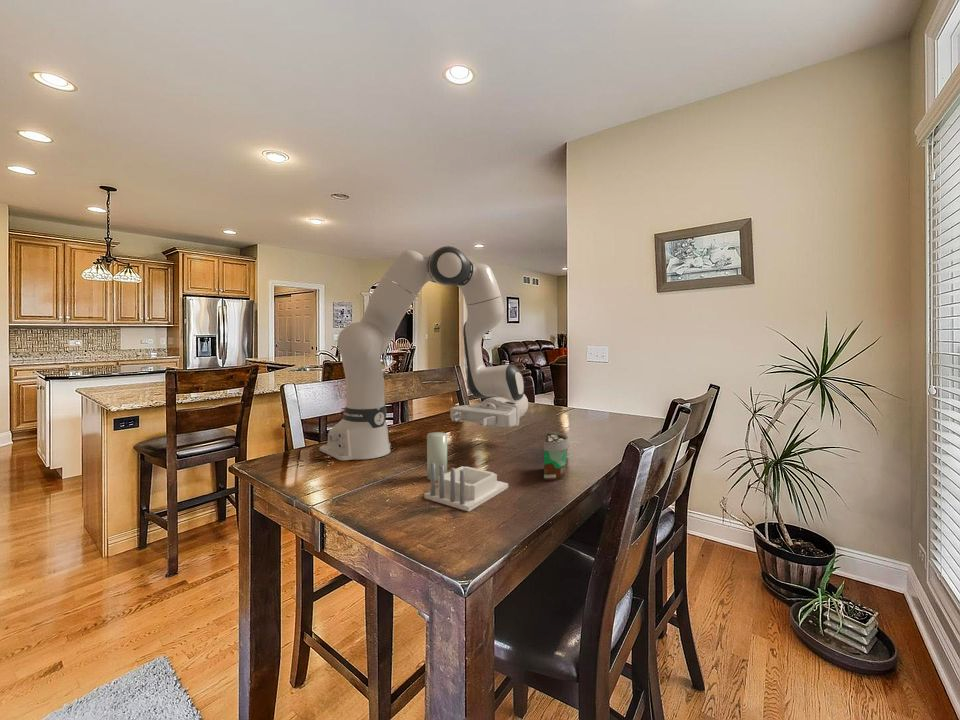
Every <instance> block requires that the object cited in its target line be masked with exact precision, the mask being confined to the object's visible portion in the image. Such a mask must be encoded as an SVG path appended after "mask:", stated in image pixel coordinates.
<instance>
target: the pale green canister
mask: <svg viewBox="0 0 960 720" xmlns="http://www.w3.org/2000/svg"><path fill="white" fill-rule="evenodd" d="M426 460H427V461H426V479H427V480H428V481H430V482H431V463H435V482H438V477H439V466H440V465H444V474H446V473H448V434H447V433H446V432H441V431H435V432H434V431H433V432H428V433H427V434H426Z"/></svg>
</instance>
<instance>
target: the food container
mask: <svg viewBox="0 0 960 720" xmlns="http://www.w3.org/2000/svg"><path fill="white" fill-rule="evenodd" d="M545 434H546V438H545V441H544V443H543V444H544V445H543V446H544V447H543V452H544V453H543V459H544V460H543V461H544V462H543V481H544V482H556V481H560V480H562V478H563V477H564V478H565V473H566V465H567V464H566V462H567V451H568V449H569V448H570V446H571V444H570V440H569V438H568V436H567V435H566V434H563V433H561V432H557V431H548V430H547V431H546V433H545ZM564 478H563V479H564ZM555 480H556V481H555Z"/></svg>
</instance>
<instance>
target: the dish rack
mask: <svg viewBox="0 0 960 720" xmlns="http://www.w3.org/2000/svg"><path fill="white" fill-rule="evenodd" d="M437 483H438V484H437V485H438V487H436V481H435V463H431V481H430V490H429V491H428V492H424V495H423V497H424V499H426V500H429V501H433V502H435V503H440V504H443V505H446V506H449V507H453V508H456V509H459V510H462V511H465V512H470V511H472V510H474V509H476V508H477V507H479V506H480V505H482V504H484V503H486V502H487V501H488V500H490V499H492V498H493V497H495V496H497V495H499V494H501V493H502V492H503V491H505V490H507V489H509V483H507V482H504V481H499V480H498V474H497V473H495V472H492V471H487V470H483V469H479V468H476V467H475V468H474V467H470V466H463V465H462V466H460V467H457V468H456V467H450V470H449V472H448V471H447V473H446V474H444V465H440V466H439V477H438V481H437Z"/></svg>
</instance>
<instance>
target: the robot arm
mask: <svg viewBox="0 0 960 720" xmlns="http://www.w3.org/2000/svg"><path fill="white" fill-rule="evenodd" d="M428 282H432V283H434V284H435V283H436V284H437V285H440V286H445V287H447V286H457V288H459V289H460V291H461V292H462V295H463V298H464V301H465V306H466V309H467V310H466V311H467V312H466V313H467V317H466V321H465V322H464V324H463V329H462V330H463V331H462V335H463V344H464V351H465V361H466V368H467V371H466V372H467V374H466V375H467V378H466V379H467V381H466V382H467V384H466V385H467V389H468V390H469V391H470V393H471V395H473V396H474V397H475V398H477V399H484V400H483V401H482V402H481V403H480V405H472V404H471V405H470V404H465V405H458V406H451V408H450V419H451V422H466V423H473V424H479V426H487V427H488V428H498V427H503V428H512V427H518V426H520V418H521V417H522V416H524V415H525V414H526V412H527V411H528V408H529V401H528V400H529V399H528V398H527V395H526V394H525V391H526V390H525V387H526V384H525V378H524V375H523V373H522V372H521V370H520V369H519V368H518V367H517V366H516V365H514V364H511V363H510V364H502V365H496V366H494V365H493V366H486V365H485V364H484V360H483V351H482V338H484V336H485V335H486V333H488V332H489V331H491V330H492V329H494V328H495V327H496V326H498V325H499V323H501V321H502V319H503V318H504V313H505V307H504V301H503V297H502V294H501V290H500V287H499V284H498V282H497V278H496V277H495V275H494V272H493V270H492V268H491V267H490V266H489V265H487V264H486V263H481V262H480V263H473V262H472V261H470V258H468V257H467V256H466V255H465V254H464V253H463V252H462V251H461V250H460V249H458V248H457V247H453V246H449V245H448V246H445V245H444V246H442V247H440V248H438V249H436V250H434V251H433V252H432V253H430V254H429V255H423V254H421V253H420V252H419V251H416V250H412V249H411V250H410V249H407V250H404V251H402V252H401V253H400V254H399V255H398V256H397V257H396V259H395V260H393V262H392V263H391V265H390V266H389V268H387V270H386V272H385V273H384V275H383V276H382V277H381V279H380V281H379V282H378V284H377V285H376V287H375V289H374V290H373V292H372V294H371V295H370V297H369V298H368V303H367V305H366V309H364V313H363V315H362V317H361V319H360V321H359V322H353V323H350V324H348V325H346V327H344V328H343V329H342V330H341V331H340V332H339V334H338V336H337V341H336V342H337V348H338V350H339V352H340V356H341V360H342V361H341V362H342V366H343V373H344V377H345V397H346V405H345V407H344V408H343V407H342V408H341V411H340V413H343V414H342V419H341V420H339V422H338V423H336V424H335V425H334V426H333V427H332V428H330V429H329V431H328V433H327V443H326V444H322V445H321V446H320V447H319V452H322V453H324V454H326V455H328V456H330V457H333V458H335V459H336V460H338V461H350V460H370V459H377V458H380V457H384V456H387V455H389V454H390V453H391V450H392V449H391V447H392V444H391V442H390V441H389V432H388V431H389V430H388V423H387V421H386V418H387V413H388V411H387V405H386V403H385V400H386V399H385V396H386V395H385V392H386V391H385V389H386V388H385V378H384V374H383V369H382V368H383V367H382V360H381V356H383V354H384V353H385V352H386V350H387V348H388V347H389V345H390V343H391V342H392V340H393V337H394V336H395V334H396V332H397V330H398V328H399V326H400V324H401V322H402V320H403V318H404V317H405V315H406V313H407V312H408V311H409V309H410V307H411V306H412V304H413V303H414V301H415V300H416V298H417V297H418V295H419V294H420V292H421V290H422V289H423V287H424V286H425V285H426V284H427V283H428ZM485 398H486V399H485Z"/></svg>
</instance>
